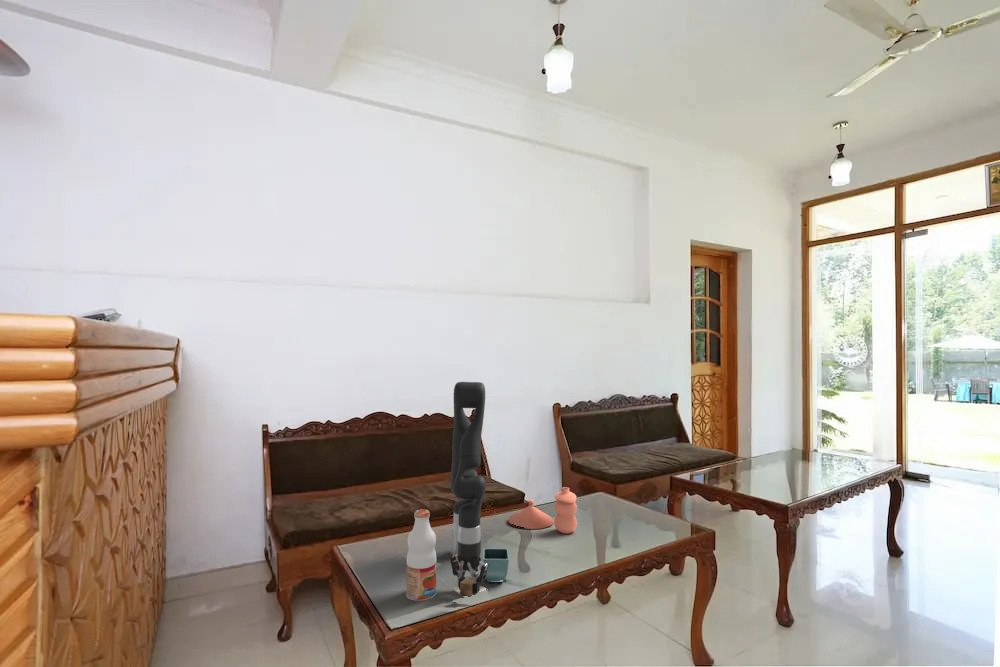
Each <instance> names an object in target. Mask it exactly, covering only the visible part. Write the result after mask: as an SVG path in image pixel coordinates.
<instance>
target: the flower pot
mask: <svg viewBox="0 0 1000 667" xmlns="http://www.w3.org/2000/svg"><path fill="white" fill-rule="evenodd" d="M482 551H483V552H482V554H483V555H482V556H483V559H482V562H483V563H488V564H489V566H488V570H487V574H486V578H485V580H486V581H487V583H489V582H491V581H500V580H504V581H505V580H506V578H507V575H508V570H509V563H510V555H509V549H508V548H483V549H482Z"/></svg>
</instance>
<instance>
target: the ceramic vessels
mask: <svg viewBox="0 0 1000 667" xmlns="http://www.w3.org/2000/svg"><path fill="white" fill-rule="evenodd" d="M554 498H555V503H554V506H553V507H554V510H555V512H556V513H557V514H556V515H555V518H553V517H552V516H551V515H548V514H547V513H545V512H544V511H542V510H540V509H539V508H536V507H535V506H534V500H533V499H529V500H528V506H527V507H525V508H523V509H521V510H519V511H518V512H515V513H513V514H512V515H510V516H509V517H508V519H507V520H508V522H509V524H511V525H512V524H514V525H516V526H515V527H517V526H521V527H524V528H523V529H527V530H528V529H529V530H535V529H536V530H537V529H538V530H539V529H544V528H547V527H550V526H552V525H553V524H554V527H555V529H556V530H557V531H559V532H560V533H561V534H571V533H573V532H574V531H575V530H576V529H577V527H578V520H577V518H576V515H574V514H576V513H577V511H578V505H577V503H576V501H577V495H576V494H575V493H574V492H572V491H570V487H567V486H563V487H562V488H561V491H559V492H557V493H556V494H555V496H554ZM514 525H513V526H514Z"/></svg>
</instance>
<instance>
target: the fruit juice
mask: <svg viewBox="0 0 1000 667" xmlns="http://www.w3.org/2000/svg"><path fill="white" fill-rule="evenodd" d="M430 514H431V513H430V510H428V509H417V510H415V511H414V515H413V517H414V525H413V526H412V527H413V528H412V530H411V531H410V532H409V534H408V536H407V541H406V542H407V548H408V551H407V555H406V582H405V583H406V593H405V595H406V597H407V599H409V600H412V601H425V600H429V599H432V598H434V597H435V596H436V594H437V552H436V548H435V547H436V544H437V536H436V532H435V531H434V530H433V529H432V527H431V524H430V520H429V519H430V517H431V516H430Z"/></svg>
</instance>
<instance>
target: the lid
mask: <svg viewBox="0 0 1000 667" xmlns="http://www.w3.org/2000/svg"><path fill="white" fill-rule="evenodd" d="M473 583H474V582H473V578H472V577H471V578H470V577H465V579H464V580H463V581H462V582H460V590H459V587H458V585H457V586H455V587H452V590H453V591H454V592H456V593H457V594H458V595H461V597H463V596H468V597H471V596H472V595H473ZM479 589H480V590H479V592H481V591H484V590H486V589H487V588H486V587H484V586H482V585H480V588H479Z"/></svg>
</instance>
